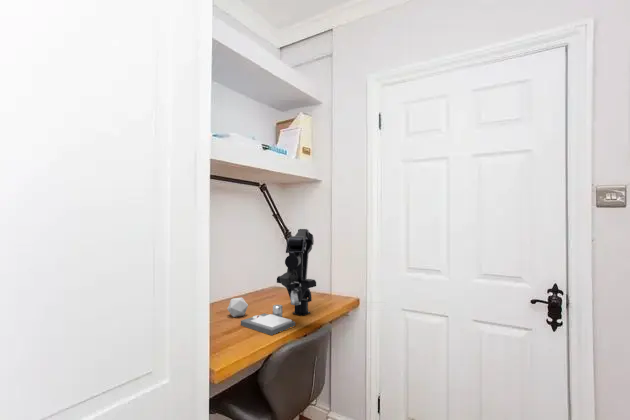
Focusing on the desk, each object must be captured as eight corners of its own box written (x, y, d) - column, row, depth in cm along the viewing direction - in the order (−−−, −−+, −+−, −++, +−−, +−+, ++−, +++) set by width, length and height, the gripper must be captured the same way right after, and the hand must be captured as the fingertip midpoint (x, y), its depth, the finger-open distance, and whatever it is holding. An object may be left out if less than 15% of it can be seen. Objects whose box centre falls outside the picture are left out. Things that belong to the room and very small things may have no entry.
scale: (264, 317, 153) (264, 311, 153) (295, 326, 142) (295, 319, 142) (240, 325, 142) (240, 318, 142) (271, 335, 130) (271, 328, 130)
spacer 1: (277, 316, 155) (277, 303, 155) (284, 318, 152) (284, 305, 152) (270, 319, 151) (270, 305, 151) (277, 321, 148) (277, 307, 148)
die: (244, 313, 162) (232, 297, 162) (254, 307, 157) (242, 290, 157) (233, 324, 155) (220, 307, 155) (243, 318, 150) (230, 300, 150)
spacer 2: (295, 302, 148) (295, 288, 148) (302, 303, 145) (302, 289, 145) (288, 304, 144) (288, 290, 144) (296, 305, 142) (296, 291, 142)
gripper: (268, 265, 144) (267, 301, 144) (300, 269, 133) (299, 308, 133) (285, 262, 153) (284, 296, 153) (317, 266, 142) (316, 303, 141)
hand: (295, 300), depth 145 cm, fingers closed on spacer 2, 4 cm apart
